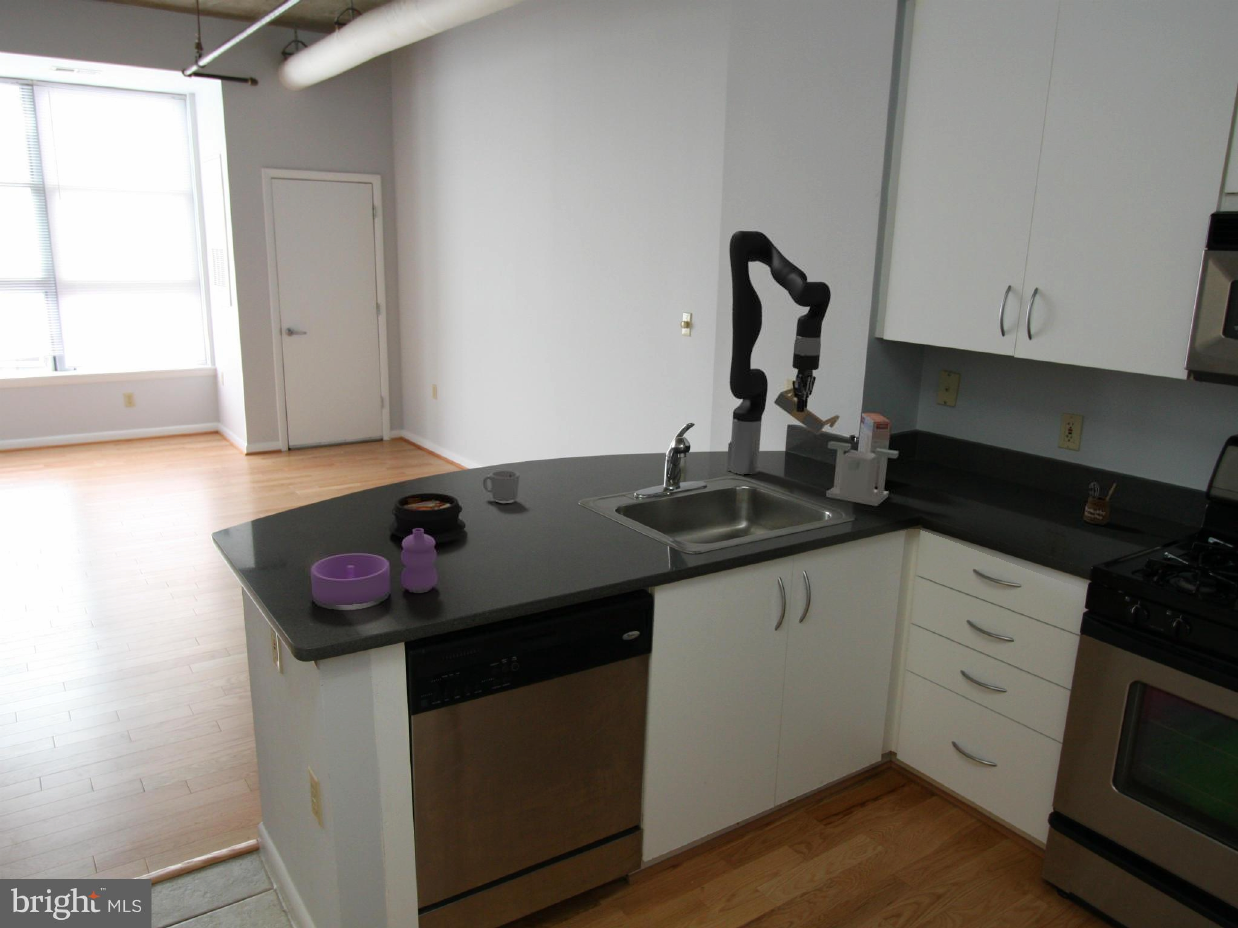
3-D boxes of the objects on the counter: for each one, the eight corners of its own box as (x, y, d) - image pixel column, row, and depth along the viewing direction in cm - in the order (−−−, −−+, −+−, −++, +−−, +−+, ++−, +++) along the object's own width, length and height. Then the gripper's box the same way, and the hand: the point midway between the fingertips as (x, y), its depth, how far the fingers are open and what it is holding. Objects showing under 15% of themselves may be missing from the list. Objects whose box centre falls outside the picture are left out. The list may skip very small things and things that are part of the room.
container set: (312, 614, 173) (309, 550, 170) (312, 585, 187) (309, 525, 184) (442, 602, 181) (441, 540, 178) (433, 574, 195) (431, 517, 192)
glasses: (773, 403, 264) (780, 392, 262) (790, 396, 275) (797, 386, 274) (816, 435, 259) (824, 424, 257) (832, 427, 270) (839, 416, 268)
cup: (476, 502, 247) (476, 474, 245) (490, 494, 254) (490, 467, 252) (510, 507, 243) (510, 479, 241) (524, 500, 250) (524, 472, 248)
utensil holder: (1087, 517, 252) (1094, 476, 249) (1111, 523, 247) (1119, 481, 244) (1079, 522, 248) (1087, 480, 244) (1104, 527, 243) (1111, 485, 240)
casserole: (378, 522, 227) (377, 491, 225) (450, 514, 235) (449, 484, 233) (402, 555, 206) (401, 520, 204) (479, 545, 214) (479, 511, 212)
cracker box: (884, 488, 274) (892, 421, 269) (865, 487, 274) (872, 421, 269) (873, 476, 288) (880, 412, 283) (854, 475, 288) (861, 412, 283)
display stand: (814, 497, 262) (819, 447, 258) (831, 486, 275) (835, 438, 271) (882, 510, 252) (888, 458, 248) (896, 497, 264) (902, 448, 261)
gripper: (802, 348, 264) (797, 406, 269) (785, 353, 253) (780, 413, 257) (827, 351, 260) (821, 409, 265) (811, 356, 249) (805, 416, 253)
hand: (801, 411), depth 261 cm, fingers closed on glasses, 1 cm apart
